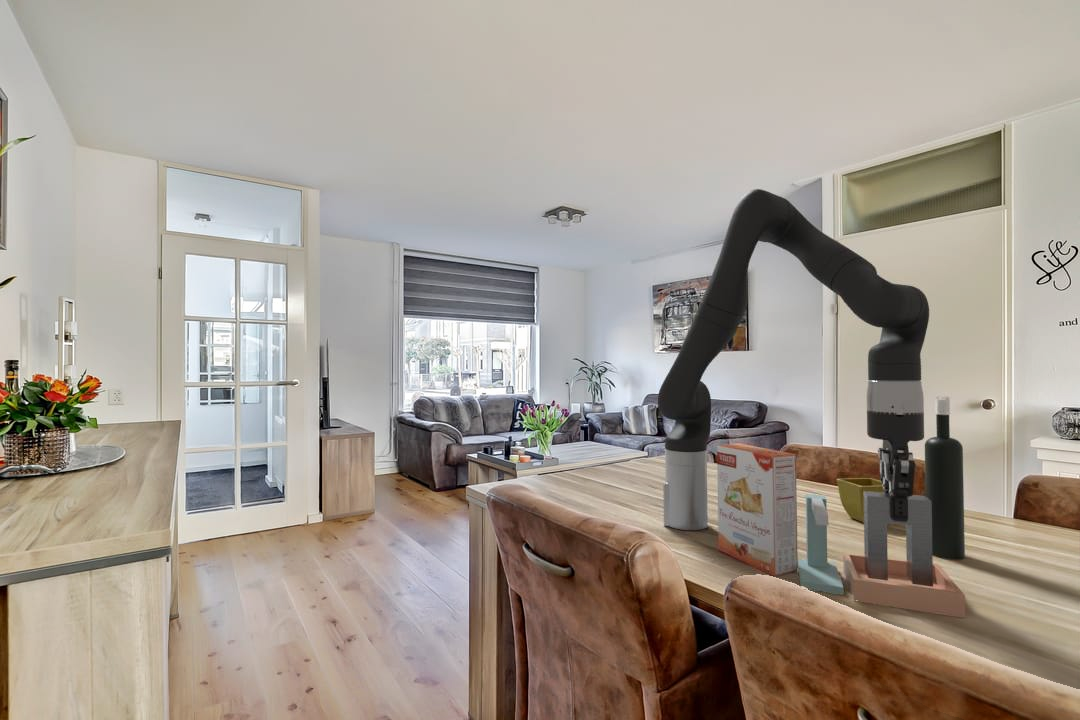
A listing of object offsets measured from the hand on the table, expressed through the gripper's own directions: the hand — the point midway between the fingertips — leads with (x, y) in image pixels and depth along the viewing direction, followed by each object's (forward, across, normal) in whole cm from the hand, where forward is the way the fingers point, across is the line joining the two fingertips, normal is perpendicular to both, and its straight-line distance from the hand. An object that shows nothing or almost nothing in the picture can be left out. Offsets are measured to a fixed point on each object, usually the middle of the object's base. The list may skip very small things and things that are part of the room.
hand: (896, 516), depth 83 cm
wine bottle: (+12, -24, +12) cm, 29 cm away
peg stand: (+12, 0, -11) cm, 16 cm away
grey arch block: (+10, 0, 0) cm, 10 cm away
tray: (+12, 0, 0) cm, 12 cm away
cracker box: (+12, -6, -21) cm, 25 cm away
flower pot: (+12, -44, +2) cm, 45 cm away
